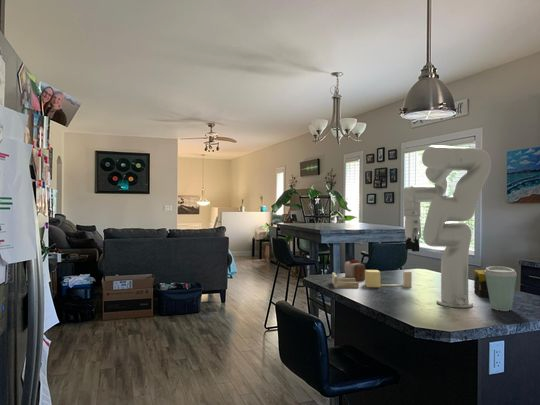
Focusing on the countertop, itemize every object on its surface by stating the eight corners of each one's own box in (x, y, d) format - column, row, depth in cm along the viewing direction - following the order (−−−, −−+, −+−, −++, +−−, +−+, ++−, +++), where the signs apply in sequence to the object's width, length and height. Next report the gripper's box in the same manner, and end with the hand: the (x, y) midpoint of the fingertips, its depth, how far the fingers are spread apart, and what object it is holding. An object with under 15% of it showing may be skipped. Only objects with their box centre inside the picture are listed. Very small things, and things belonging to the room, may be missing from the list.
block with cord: (412, 287, 184) (412, 272, 184) (367, 287, 186) (367, 271, 186) (408, 285, 190) (408, 270, 190) (364, 284, 192) (365, 269, 192)
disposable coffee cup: (522, 313, 141) (522, 270, 141) (488, 311, 143) (488, 269, 143) (511, 306, 151) (511, 266, 151) (480, 304, 153) (480, 265, 154)
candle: (499, 293, 173) (499, 270, 173) (506, 299, 163) (506, 274, 163) (473, 292, 176) (473, 269, 176) (479, 297, 166) (479, 273, 166)
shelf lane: (358, 288, 183) (358, 277, 183) (334, 287, 184) (334, 276, 184) (355, 283, 194) (355, 272, 194) (332, 282, 195) (332, 272, 195)
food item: (342, 276, 213) (342, 258, 213) (356, 276, 215) (356, 257, 215) (353, 281, 200) (353, 261, 200) (367, 280, 201) (367, 261, 202)
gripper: (426, 213, 178) (426, 252, 177) (414, 213, 195) (414, 248, 195) (409, 213, 178) (409, 252, 178) (398, 213, 196) (398, 248, 195)
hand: (412, 250), depth 186 cm, fingers open, 9 cm apart
